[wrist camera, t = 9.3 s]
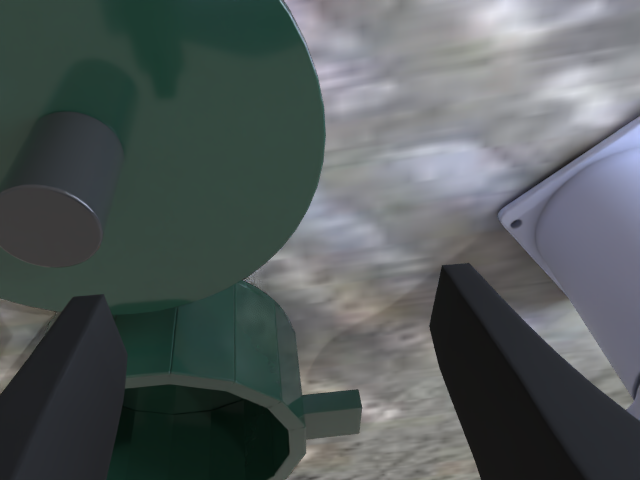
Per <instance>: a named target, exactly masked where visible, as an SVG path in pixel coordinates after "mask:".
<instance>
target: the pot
mask: <svg viewBox="0 0 640 480" xmlns="http://www.w3.org/2000/svg"><path fill="white" fill-rule="evenodd" d="M60 314H61V312H56V314H55V316H54V318H53V320H52V321H51V322H50V323H49V324H48V327H47V330H46V333H47V332H48V331H49V329H50V328H51V326H52V325H53V323H54V322H55V321H56V319H57V318H58V316H59V315H60ZM112 316H113V319H114V321H115V324H116V326H117V329H118V331H119V334H120V336H121V339H122V341H123V344H124V346H125V349H126V351H127V354H128V357H127V370H126V382H125V391H124V401H123V405H122V410H121V415H120V420H119V424H118V429H117V434H116V438H115V443H114V447H113V452H112V456H111V461H110V465H109V470H108V474H107V479H106V480H285V479H287V477H289V475H290V474H291V473H292V471H293V470H294V469H295V467H296V466H297V465H298V463H299V462H300V461H301V459H302V458H303V457H304V455H305V454H306V439H314V438H323V437H332V436H341V435H350V434H358V433H359V430H360V421H361V412H362V404H361V400H360V395H359V390H358V389H356V390H347V391H337V392H328V393H318V394H308V395H302V390H301V381H300V372H299V363H298V354H297V345H296V336H295V331H294V330H293V328H292V325H291V322H290V320H289V319H288V317H287V315H286V313H285V312H284V311H283V309H282V308H281V307H280V306H279V305H278V304H277V302H275V301H274V300H273V299H272V298H271V297H270V296H268V295H267V294H266V293H264V292H263V291H261V290H260V289H258V288H257V287H255V286H253V285H251V284H249V283H247V282H245V281H243V280H241V281H240V282H238V283H236V284H234V285H233V286H231V287H229V288H228V289H225V290H223V291H221V292H219V293H216V294H214V295H212V296H210V297H207V298H205V299H202V300H199V301H196V302H193V303H190V304H187V305H183V306H179V307H175V308H170V309H166V310H161V311H155V312H147V313H140V314H128V315H112ZM46 333H45V335H46Z"/></svg>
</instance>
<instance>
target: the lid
mask: <svg viewBox="0 0 640 480" xmlns="http://www.w3.org/2000/svg"><path fill="white" fill-rule="evenodd" d="M325 138H326V132H325V114H324V104H323V99H322V94H321V89H320V85H319V80H318V75H317V72H316V69H315V66H314V63H313V60H312V58H311V55H310V52H309V49H308V46H307V43H306V41H305V39H304V37H303V35H302V33H301V31H300V29H299V27H298V25H297V23H296V21H295V19H294V17H293V15H292V13H291V11H290V9H289V8H288V6H287V5H286V3H285V2H284V0H0V299H4V300H7V301H11V302H14V303H18V304H22V305H25V306H30V307H35V308H40V309H45V310H50V311H57V312H62V311H63V309H64V308H65V307H66V305H67V304H68V302H69V301H70V300H71V299H72V298H73V297H76V296H87V295H99V294H104V296H105V299H106V301H107V304H108V306H109V309H110V311H111V314H112V315H128V314H140V313H147V312H155V311H161V310H166V309H170V308H175V307H179V306H183V305H187V304H190V303H193V302H196V301H199V300H202V299H205V298H207V297H210V296H212V295H214V294H216V293H219V292H221V291H223V290H225V289H228V288H229V287H231V286H233V285H234V284H236V283H238V282H240V281H241V280H243V279H245V278H247V277H248V276H249V275H251V274H252V273H253V272H255V271H256V270H257V269H259V268H260V267H261V266H263V265H264V264H265V263H266V262H267V261H268V260H270V259H271V258H272V257H273V256H274V255H275V254H276V253H277V252H278V251H279V250H280V249H281V248H282V247H283V246H284V244H285V243H286V242H287V240H288V239H289V238H290V237H291V235H292V234H293V233H294V232H295V230H296V229H297V227H298V226H299V224H300V222H301V220H302V219H303V217H304V215H305V214H306V212H307V210H308V208H309V206H310V203H311V201H312V198H313V196H314V194H315V191H316V189H317V186H318V182H319V178H320V174H321V170H322V165H323V160H324V149H325Z"/></svg>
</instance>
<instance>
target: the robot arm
mask: <svg viewBox="0 0 640 480" xmlns="http://www.w3.org/2000/svg"><path fill="white" fill-rule="evenodd" d="M498 219H499V221H500V222H501V224H502V225H503V226H504V227H505V228H506V229H507V231H508V232H509V233H510V234H511V235H512V236H513V237H514V238H515V239H516V241H517V242H518V243H519V244H520V245H521V246H522V247H523V248H524V249H525V250H526V252H527V253H528V254H529V255H530V256H531V257H532V258H533V259H534V260H535V261H536V263H537V264H538V265H539V266H540V267H541V268H542V269H543V270H544V271H545V273H546V274H547V275H548V276H549V277H550V278H551V279H552V280H553V281H554V282H555V284H556V285H557V286H558V287H559V288H560V289H561V290H562V291H563V292H564V293H565V295H566V296H567V297H568V298H569V300H570V301H571V303H572V304H573V306H574V307H575V309H576V311H577V312H578V314H579V315H580V317H581V318H582V320H583V321H584V323H585V325H586V326H587V328H588V329H589V331H590V332H591V334H592V336H593V337H594V339H595V340H596V342H597V343H598V345H599V347H600V348H601V350H602V351H603V353H604V354H605V356H606V357H607V359H608V361H609V362H610V364H611V365H612V367H613V368H614V370H615V372H616V373H617V375H618V376H619V378H620V379H621V381H622V383H623V384H624V386H625V387H626V389H627V390H628V392H629V393H630V395H631V397H632V398H633V400H634V402H633V403H632V404H631V405H630V407H629V408H628V409H626V410H625V409H623V408H622V407H621V406H620V405H618V404H617V403H616V402H615V401H613V400H612V399H611V398H609V397H608V396H607V395H606V394H604V393H603V392H602V391H600V390H599V389H598V388H597V387H596V386H594V385H593V384H592V383H591V382H590V381H588V380H587V379H586V378H585V377H584V376H583V375H581V374H580V373H579V372H578V371H577V370H576V369H575V368H573V367H572V366H571V365H570V364H569V363H568V362H567V361H566V360H565V359H563V358H562V357H561V356H560V355H559V354H558V353H557V352H556V351H555V350H554V349H553V348H551V347H550V346H549V345H548V344H547V343H546V342H545V341H544V340H543V339H542V338H541V337H540V336H539V335H538V334H537V333H536V332H535V331H534V330H533V329H532V328H531V327H530V326H529V325H528V324H527V323H526V322H525V321H524V320H523V319H522V318H521V317H520V316H519V315H518V314H517V313H516V312H515V311H514V310H513V309H512V308H511V307H510V306H509V305H508V304H507V303H506V302H505V301H504V300H503V299H502V297H501V296H500V295H499V294H498V293H497V292H496V291H495V290H494V289H493V288H492V287H491V286H490V285H489V284H488V283H487V281H486V280H485V279H484V278H483V277H482V276H481V275H480V274H479V273H478V272H477V271H476V270H475V269H474V268H473V267H472V266H471V265H470V264H469V263H465V264H454V265H442V268H441V272H440V277H439V282H438V287H437V291H436V296H435V301H434V306H433V310H432V315H431V320H430V325H429V327H430V331H431V336H432V340H433V344H434V348H435V352H436V356H437V360H438V364H439V368H440V370H441V373H442V376H443V379H444V381H445V384H446V387H447V389H448V392H449V394H450V397H451V400H452V402H453V405H454V408H455V410H456V413H457V415H458V418H459V421H460V423H461V426H462V428H463V431H464V434H465V436H466V439H467V441H468V444H469V447H470V449H471V452H472V454H473V457H474V460H475V463H476V465H477V468H478V471H479V474H480V477H481V480H640V116H639V117H638V118H636V119H635V120H633V121H632V122H630V123H629V124H627V125H626V126H624V127H623V128H621V129H620V130H618V131H617V132H615V133H614V134H612V135H611V136H609V137H608V138H606V139H605V140H603V141H602V142H600V143H599V144H597V145H596V146H594V147H593V148H591V149H590V150H588V151H587V152H586V153H584V154H583V155H581V156H580V157H578V158H577V159H575V160H574V161H572V162H571V163H569V164H568V165H566V166H565V167H563V168H562V169H560V170H559V171H557V172H556V173H554V174H553V175H551V176H550V177H548V178H547V179H545V180H544V181H542V182H541V183H539V184H538V185H536V186H535V187H533V188H532V189H530V190H529V191H527V192H526V193H524V194H523V195H521V196H520V197H518V198H517V199H515V200H514V201H513V202H511V203H510V204H508V205H507V206H505V207H504V208H502V209H501V210H500V212H499V213H498ZM515 220H517V221H516V222H514V223H512V222H513V221H515ZM127 357H128V354H127V351H126V349H125V346H124V344H123V341H122V339H121V336H120V334H119V331H118V329H117V326H116V324H115V321H114V319H113V316H112V314H111V311H110V309H109V306H108V304H107V301H106V299H105V296H104V294H99V295H87V296H76V297H73V298H72V299H71V300H70V301H69V302H68V304H67V305H66V307H65V308H64V309H63V311H62V312H61V314H60V315H59V316H58V318H57V319H56V321H55V322H54V323H53V325H52V326H51V328H50V329H49V331H48V332H47V333H46V335H45V336H44V337H43V339H42V340H41V342H40V343H39V344H38V346H37V347H36V348H35V350H34V351H33V353H32V354H31V355H30V357H29V358H28V359H27V361H26V362H25V363H24V365H23V366H22V367H21V368H20V370H19V371H18V372H17V374H16V375H15V376H14V378H13V379H12V380H11V382H10V383H9V384H8V386H7V387H6V388H5V389H4V391H3V392H2V393H1V394H0V480H106V479H107V474H108V470H109V465H110V461H111V456H112V452H113V447H114V443H115V438H116V434H117V429H118V424H119V420H120V415H121V410H122V405H123V401H124V391H125V382H126V370H127Z"/></svg>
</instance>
